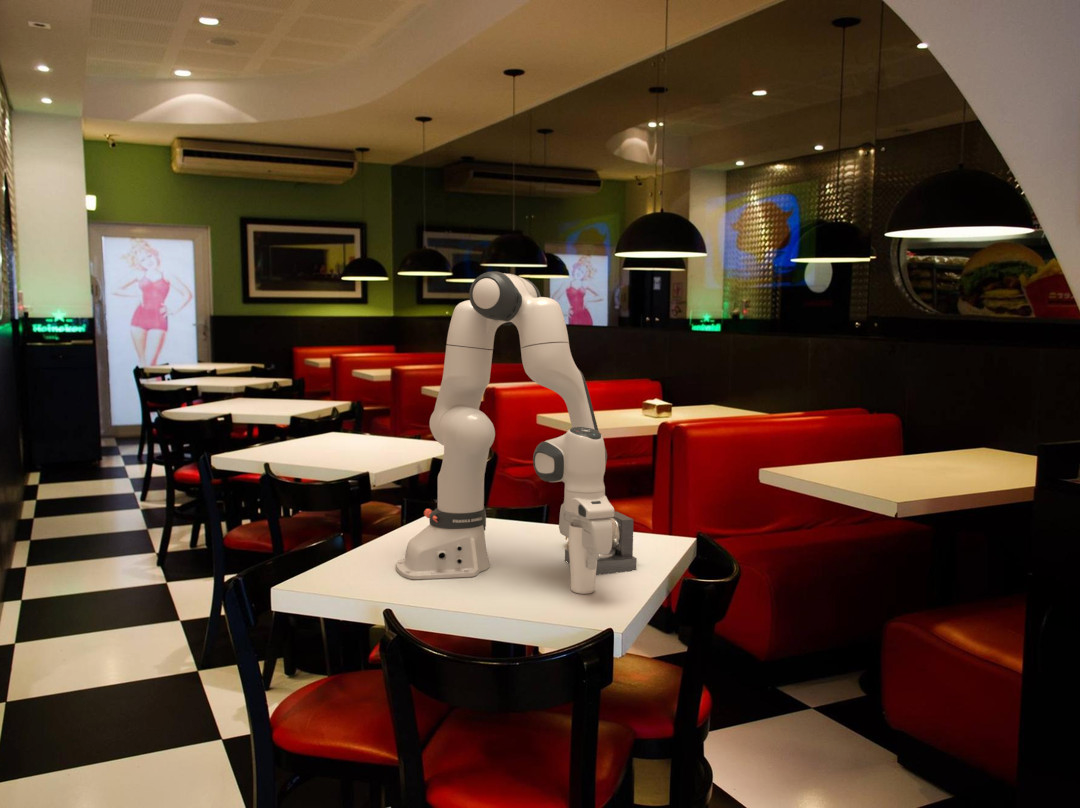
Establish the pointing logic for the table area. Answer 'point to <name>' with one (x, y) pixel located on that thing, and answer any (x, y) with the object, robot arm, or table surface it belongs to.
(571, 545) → the drinking glass
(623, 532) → the dial scale
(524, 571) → the table surface
